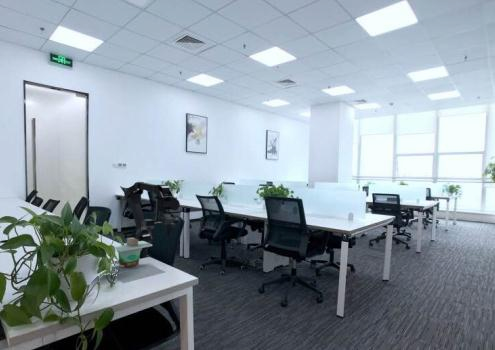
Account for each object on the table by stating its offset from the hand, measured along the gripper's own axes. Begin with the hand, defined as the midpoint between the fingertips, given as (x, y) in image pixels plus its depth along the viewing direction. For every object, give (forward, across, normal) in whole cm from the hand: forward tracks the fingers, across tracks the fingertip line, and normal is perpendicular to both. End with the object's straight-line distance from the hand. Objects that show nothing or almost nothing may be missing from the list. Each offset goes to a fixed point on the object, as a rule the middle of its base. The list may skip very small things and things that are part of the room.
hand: (160, 237), depth 147 cm
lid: (+3, -14, +2) cm, 14 cm away
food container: (+13, -14, +2) cm, 19 cm away
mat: (+13, -15, -10) cm, 22 cm away
